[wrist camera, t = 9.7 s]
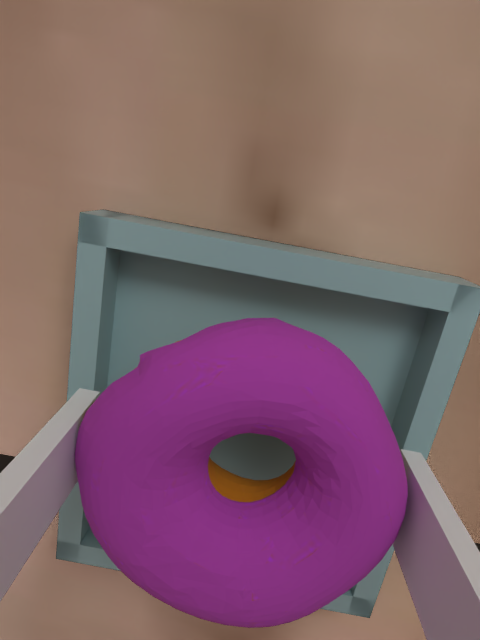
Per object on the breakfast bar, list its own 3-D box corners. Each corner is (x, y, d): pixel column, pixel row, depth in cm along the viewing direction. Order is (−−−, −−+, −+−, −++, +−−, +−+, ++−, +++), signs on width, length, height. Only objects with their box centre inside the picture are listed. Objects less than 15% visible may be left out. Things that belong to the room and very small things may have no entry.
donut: (423, 489, 17) (478, 596, 12) (199, 577, 19) (179, 696, 14) (303, 254, 14) (319, 284, 10) (61, 382, 16) (-15, 454, 12)
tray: (103, 209, 17) (79, 212, 15) (459, 276, 17) (487, 289, 15) (76, 521, 21) (55, 558, 19) (359, 575, 21) (369, 617, 19)
